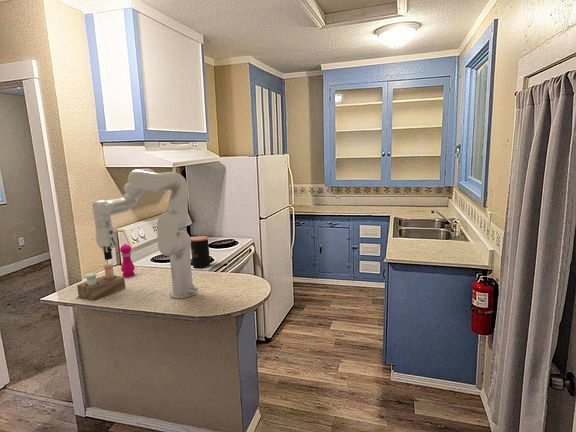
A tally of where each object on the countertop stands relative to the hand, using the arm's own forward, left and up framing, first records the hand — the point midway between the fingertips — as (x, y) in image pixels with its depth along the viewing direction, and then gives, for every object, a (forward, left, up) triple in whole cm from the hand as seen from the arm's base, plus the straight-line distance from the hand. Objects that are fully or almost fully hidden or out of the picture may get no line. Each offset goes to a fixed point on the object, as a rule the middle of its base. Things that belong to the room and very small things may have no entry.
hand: (108, 259), depth 191 cm
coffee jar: (-18, -49, -16) cm, 55 cm away
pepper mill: (+11, -19, -16) cm, 27 cm away
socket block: (+1, +5, -16) cm, 17 cm away
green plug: (+1, +10, -16) cm, 19 cm away
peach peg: (+1, 0, -14) cm, 14 cm away
